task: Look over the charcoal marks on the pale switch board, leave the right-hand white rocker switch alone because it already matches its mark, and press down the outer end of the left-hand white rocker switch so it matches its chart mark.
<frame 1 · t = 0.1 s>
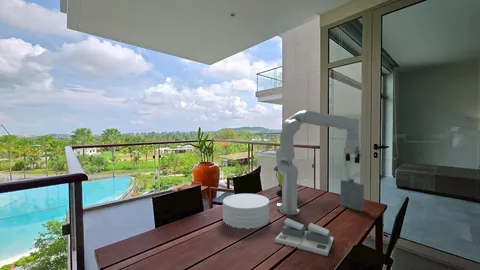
hand: (352, 161, 157), 31 cm above the table, tool pointing down, fingers open, 9 cm apart
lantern: (285, 194, 189), on the table
right switch: (318, 229, 110), point 6 cm above the table, hinge at 12.0°
left switch: (293, 224, 116), point 6 cm above the table, hinge at 12.0°
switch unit: (304, 241, 112), on the table
plate stack: (246, 219, 140), on the table
hip flask: (351, 207, 157), on the table
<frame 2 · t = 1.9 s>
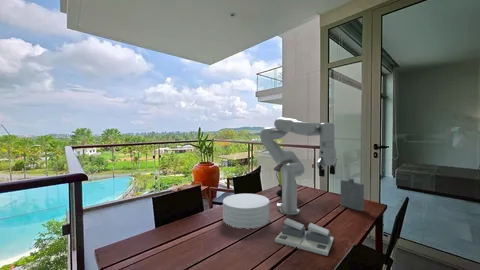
hand: (327, 175, 130), 28 cm above the table, tool pointing down, fingers open, 9 cm apart
nothing on the table moved.
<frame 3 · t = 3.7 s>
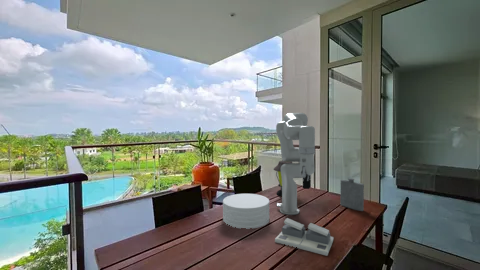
hand: (306, 187, 115), 25 cm above the table, tool pointing down, fingers closed
nothing on the table moved.
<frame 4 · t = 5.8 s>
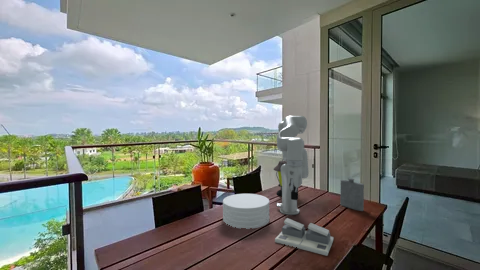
hand: (294, 199, 116), 19 cm above the table, tool pointing down, fingers closed
nothing on the table moved.
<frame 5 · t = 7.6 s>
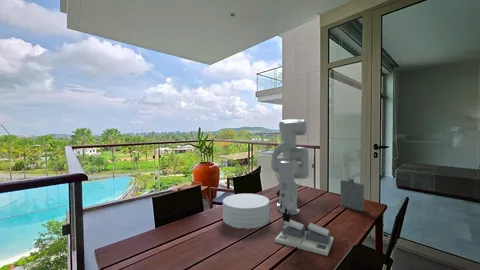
hand: (286, 220, 118), 7 cm above the table, tool pointing down, fingers closed
left switch: (293, 224, 116), point 6 cm above the table, hinge at 10.2°, touching gripper
everything else where it was.
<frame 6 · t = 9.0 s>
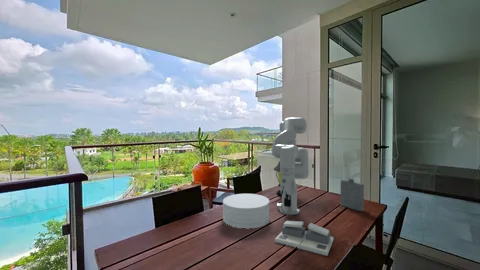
hand: (287, 206, 119), 15 cm above the table, tool pointing down, fingers closed
left switch: (293, 223, 117), point 6 cm above the table, hinge at -8.8°
everything else where it was.
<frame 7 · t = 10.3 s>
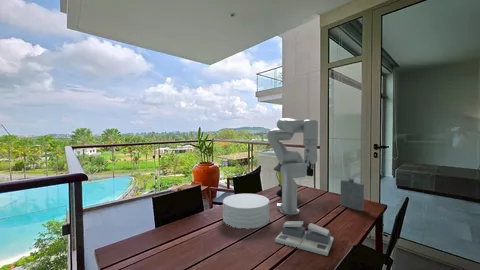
hand: (310, 175, 127), 28 cm above the table, tool pointing down, fingers closed
left switch: (293, 223, 117), point 6 cm above the table, hinge at -13.1°
everything else where it was.
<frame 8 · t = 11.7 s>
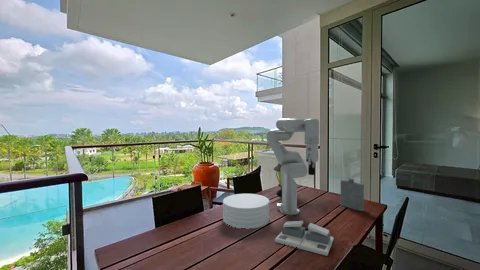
hand: (311, 174, 127), 29 cm above the table, tool pointing down, fingers closed
left switch: (293, 223, 117), point 6 cm above the table, hinge at -15.1°
everything else where it was.
at the end: left switch at -15° (first picture: +12°); right switch at +12° (first picture: +12°) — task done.
